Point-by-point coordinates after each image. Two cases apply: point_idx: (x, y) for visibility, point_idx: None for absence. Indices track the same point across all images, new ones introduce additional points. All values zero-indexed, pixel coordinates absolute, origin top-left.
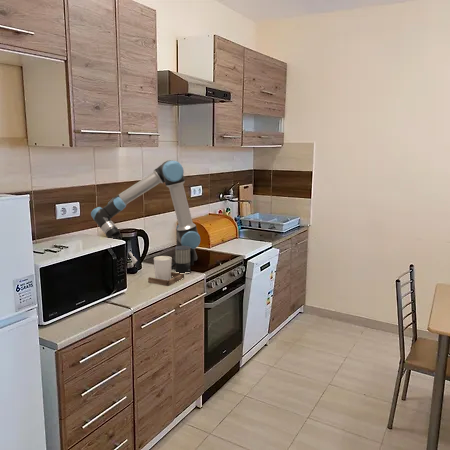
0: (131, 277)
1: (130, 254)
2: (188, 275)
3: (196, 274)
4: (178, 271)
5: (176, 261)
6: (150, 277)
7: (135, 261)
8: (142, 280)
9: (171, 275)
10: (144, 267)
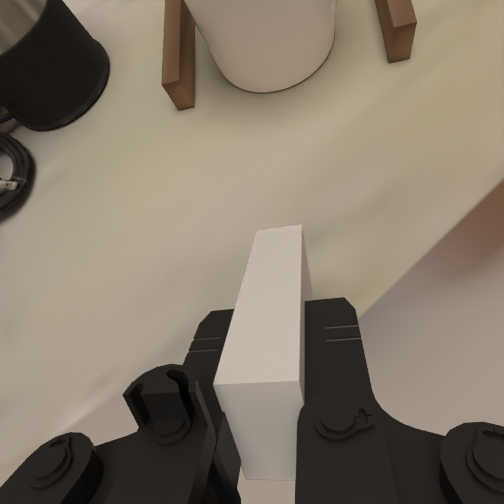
0: (396, 276)
1: (301, 322)
2: (111, 15)
3: (75, 4)
4: (95, 60)
5: (26, 8)
6: (393, 17)
7: (302, 232)
8: (399, 128)
9: (189, 38)
10: (40, 427)
